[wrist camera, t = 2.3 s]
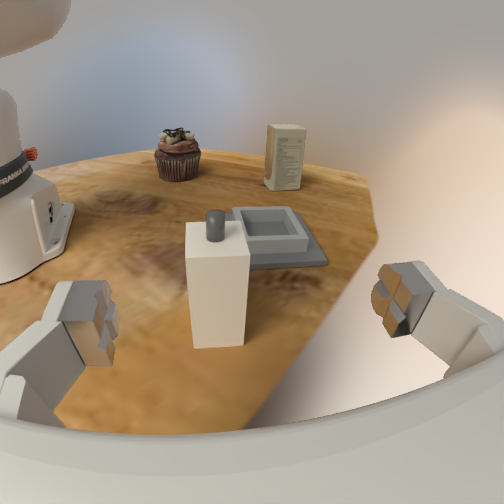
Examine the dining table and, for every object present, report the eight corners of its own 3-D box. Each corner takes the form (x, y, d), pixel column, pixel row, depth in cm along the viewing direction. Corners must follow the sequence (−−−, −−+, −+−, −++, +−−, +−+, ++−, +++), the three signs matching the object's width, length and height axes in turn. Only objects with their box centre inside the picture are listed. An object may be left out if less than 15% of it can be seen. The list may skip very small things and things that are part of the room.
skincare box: (291, 181, 61) (298, 124, 54) (300, 190, 58) (308, 129, 51) (261, 183, 60) (266, 122, 53) (269, 191, 56) (275, 127, 49)
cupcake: (210, 175, 61) (211, 128, 56) (171, 187, 55) (169, 136, 50) (184, 165, 66) (183, 122, 61) (147, 175, 60) (144, 129, 55)
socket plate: (215, 218, 46) (215, 201, 45) (297, 216, 49) (299, 200, 47) (223, 271, 36) (223, 251, 34) (326, 265, 38) (331, 247, 36)
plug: (192, 309, 30) (184, 200, 24) (236, 307, 31) (241, 198, 24) (194, 348, 26) (183, 232, 19) (243, 345, 27) (252, 230, 20)
